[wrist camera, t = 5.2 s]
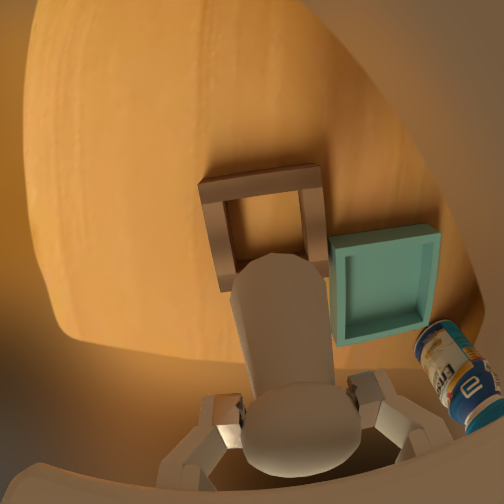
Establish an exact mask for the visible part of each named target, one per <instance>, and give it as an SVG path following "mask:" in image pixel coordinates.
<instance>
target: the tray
mask: <svg viewBox="0 0 504 504" xmlns="http://www.w3.org/2000/svg"><path fill="white" fill-rule="evenodd" d="M440 240H441V232H439V231H438V230H436V229H435V228H433V227H431V226H430V225H428V224H427V223H424V224H417V225H409V226H402V227H395V228H388V229H381V230H374V231H367V232H360V233H353V234H346V235H339V236H332V237H327V242H328V259H329V281H330V316H331V333H332V335H333V338H334V341H335V343H336V346H337V347H341V346H346V345H351V344H356V343H361V342H365V341H370V340H374V339H379V338H383V337H387V336H391V335H396V334H400V333H403V332H407V331H411V330H415V329H419V328H422V327H426V326H428V325H429V320H430V315H431V309H432V303H433V297H434V291H435V284H436V277H437V269H438V261H439V251H440Z"/></svg>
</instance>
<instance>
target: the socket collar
mask: <svg viewBox="0 0 504 504" xmlns="http://www.w3.org/2000/svg"><path fill="white" fill-rule="evenodd" d="M198 189H199V194H200V199H201V204H202V209H203V214H204V219H205V224H206V229H207V233H208V238H209V243H210V247H211V252H212V257H213V261H214V266H215V270H216V275H217V279H218V283H219V288H220V292H229V291H232V287H233V283H234V280H235V278H236V276H237V275H238V274H239V273H240V272H241V271H242V270H243V269H244V268H245V267H246V266H247V265H248V264H249V263H250V262H251V261H254V260H256V259H258V258H256V259H249V260H243V261H237V259H236V254H235V249H234V243H233V238H232V233H231V227H230V222H229V216H228V211H227V205H226V201H227V200H233V199H240V198H246V197H253V196H260V195H266V194H273V193H281V192H288V191H296V190H298V194H299V202H300V212H301V221H302V231H303V241H304V252H298V253H291V254H294V255H296V256H298V257H301V258H303V259H305V260H307V261H309V262H311V263H312V264H313V265H314V266H315V267H316V269H317V270H318V272H319V273H320V274H321V276H322V277H323V278H325V277H329V266H328V247H327V232H326V218H325V206H324V195H323V184H322V175H321V166H319V165H317V164H315V163H311V164H302V165H294V166H286V167H278V168H271V169H264V170H257V171H250V172H244V173H237V174H231V175H225V176H219V177H213V178H208V179H202V180H201V181H200V182H199V183H198Z"/></svg>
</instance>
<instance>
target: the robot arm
mask: <svg viewBox="0 0 504 504" xmlns="http://www.w3.org/2000/svg"><path fill="white" fill-rule="evenodd" d="M347 384H348V388H347V389H346V394H347V395H348V396H349V397H350V399H351V400H352V401H353V402H354V403H355V405H356V407H357V410H358V412H359V415H360V420H361V429H365V428H369V427H373V426H375V428H377V429H378V430H379V431H380V432H382V433H383V434H384V435H385V436H386V437H388V438H389V439H390V440H391V441H393V442H394V443H395V444H396V445H398V446H399V447H400V448H401V451H400V453H399V455H398V457H397V459H396V461H395V463H396V464H393V465H390V466H387V467H384V468H380V469H377V470H373V471H370V472H366V473H362V474H358V475H354V476H349V477H345V478H340V479H336V480H331V481H325V482H320V483H314V484H309V485H302V486H294V487H286V488H276V489H266V490H252V491H216V488H215V487H214V486H213V484H212V483H211V482H210V480H209V479H208V478H207V477H208V476H209V474H210V473H211V472H212V470H213V469H214V467H215V466H216V465H217V463H218V462H219V460H220V459H221V458H222V456H223V455H224V453H225V452H226V450H227V449H229V448H242V443H241V438H240V435H241V431H242V421H243V419H244V417H245V414H246V408H245V405H244V404H243V397H242V394H241V393H231V394H212V395H204V396H203V398H202V404H201V411H200V419H199V426H198V427H194V428H193V429H192V430H191V432H189V434H188V435H187V436H186V437H185V438H184V439H183V440H182V441H181V442H180V443H179V444H178V445H177V446H176V447H175V448H174V449H173V450H172V451H171V452H170V453H169V454H168V455H167V456H166V457H165V459H163V460H162V461H161V462H160V468H159V473H158V478H157V483H156V488H151V487H143V486H136V485H130V484H124V483H117V482H113V481H108V480H103V479H98V478H94V477H89V476H85V475H81V474H77V473H73V472H70V471H67V470H63V469H60V468H56V467H53V466H50V465H47V464H43V463H36V464H34V465H32V466H31V467H29V468H27V469H26V470H24V471H23V472H21V473H20V474H18V475H17V476H16V477H15V478H14V479H13V480H12V482H11V483H10V485H9V487H8V489H7V491H6V493H5V495H4V498H3V500H2V502H1V504H504V416H502V417H500V418H498V419H497V420H495V421H493V422H491V423H490V424H488V425H486V426H484V427H482V428H480V429H478V430H476V431H474V432H472V433H470V434H468V435H466V436H464V437H462V438H460V439H458V440H456V441H453V439H452V437H451V435H450V433H449V431H448V429H447V427H446V425H445V423H444V421H443V419H442V418H440V417H438V416H436V415H434V414H432V413H431V412H429V411H427V410H426V409H424V408H422V407H420V406H419V405H416V404H415V403H413V402H412V401H410V400H408V399H406V398H405V397H403V396H401V395H400V396H397V394H396V392H395V390H394V387H393V385H392V383H391V381H390V379H389V377H388V375H387V373H386V371H385V369H384V368H381V369H377V370H373V371H368V372H364V373H360V374H356V375H351V376H348V379H347Z"/></svg>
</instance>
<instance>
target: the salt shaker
mask: <svg viewBox="0 0 504 504" xmlns="http://www.w3.org/2000/svg"><path fill="white" fill-rule="evenodd" d="M230 303H231V307H232V311H233V315H234V319H235V323H236V327H237V331H238V335H239V339H240V343H241V347H242V351H243V355H244V359H245V363H246V367H247V371H248V375H249V378H250V382H251V386H252V390H253V394H254V397H255V400H254V401H253V402H251V403H250V405H249V407H248V410H247V412H246V414H245V417H244V419H243V421H242V431H241V435H240V438H241V443H242V447H243V452H244V454H245V456H246V458H247V460H248V462H249V463H250V464H251V465H253V466H254V467H255V468H257V469H258V470H261V471H263V472H265V473H267V474H270V475H273V476H281V477H288V478H289V477H302V476H310V475H314V474H318V473H321V472H325V471H328V470H330V469H332V468H334V467H336V466H338V465H340V464H342V463H343V462H344V461H345V460H347V458H348V457H350V456H351V455H352V454H353V452H354V451H355V450H356V448H357V447H358V446H359V444H360V440H361V420H360V415H359V412H358V410H357V407H356V405H355V403H354V402H353V401H352V400H351V399H350V397H349V396H348V395H347V394H346V393H345V392H344V391H343V390H342V389H341V388H340V387H338V386H335V377H334V362H333V351H332V339H331V329H330V319H329V310H328V301H327V291H326V282H325V280H324V279H323V277H322V276H321V274H320V273H319V272H318V270H317V269H316V267H315V266H314V265H313V264H312V263H311V262H309V261H307V260H305V259H303V258H301V257H298V256H296V255H294V254H282V253H269V254H267V255H265V256H263V257H260V258H258V259H256V260H254V261H251V262H250V263H249V264H248V265H247V266H246V267H245V268H244V269H243V270H242V271H241V272H240V273H239V274H238V275H237V276H236V278H235V280H234V283H233V287H232V292H231V296H230Z"/></svg>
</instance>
